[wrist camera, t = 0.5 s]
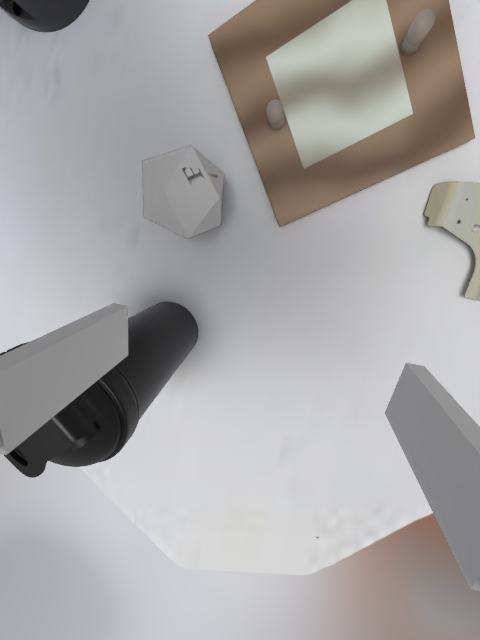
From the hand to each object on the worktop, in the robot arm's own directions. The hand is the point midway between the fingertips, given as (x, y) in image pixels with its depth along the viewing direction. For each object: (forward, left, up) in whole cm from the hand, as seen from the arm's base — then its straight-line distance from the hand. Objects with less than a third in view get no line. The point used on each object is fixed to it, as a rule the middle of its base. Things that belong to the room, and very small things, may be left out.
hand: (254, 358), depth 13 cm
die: (-12, -6, -24) cm, 28 cm away
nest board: (-15, +12, -24) cm, 31 cm away
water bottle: (+2, -18, -24) cm, 30 cm away
